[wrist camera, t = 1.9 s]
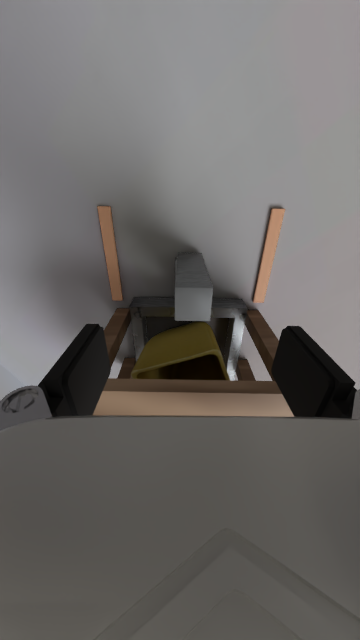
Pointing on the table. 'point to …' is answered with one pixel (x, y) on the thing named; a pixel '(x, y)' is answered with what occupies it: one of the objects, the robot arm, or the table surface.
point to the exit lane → (265, 265)
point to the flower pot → (182, 355)
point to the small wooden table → (193, 382)
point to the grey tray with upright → (192, 307)
